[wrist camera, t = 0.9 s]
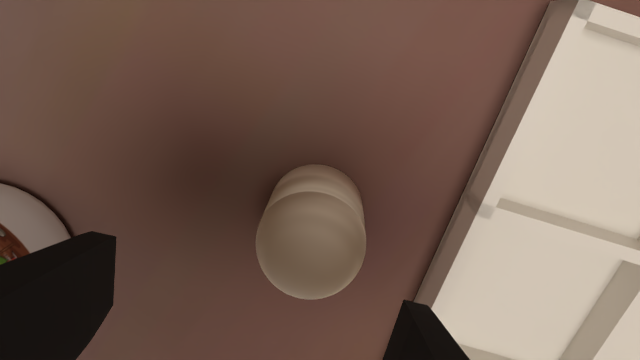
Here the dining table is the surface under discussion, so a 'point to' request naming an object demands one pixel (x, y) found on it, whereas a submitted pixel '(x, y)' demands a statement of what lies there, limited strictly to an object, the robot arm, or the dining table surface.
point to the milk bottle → (26, 224)
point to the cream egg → (312, 232)
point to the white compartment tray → (553, 204)
